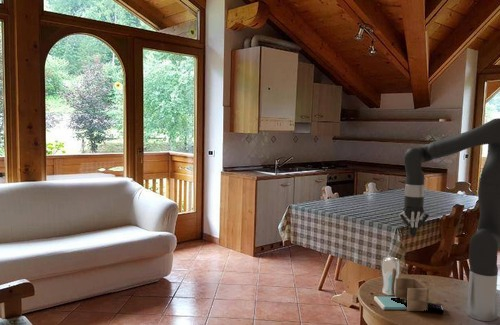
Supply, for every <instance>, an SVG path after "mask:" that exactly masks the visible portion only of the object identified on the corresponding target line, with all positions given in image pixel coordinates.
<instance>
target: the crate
mask: <svg viewBox="0 0 500 325" xmlns="http://www.w3.org/2000/svg"><path fill="white" fill-rule="evenodd" d="M429 290H430V289H429V288H428V287H426V285H424V284H423V283H422V282H420V281H419V280H418V279H416V278H414V277H404V278H403V277H398V278H396V283H395V295H394V297H397V298H400V299H405V300H407V307H406V311H407V312H425V311H426V310H427V311H428V308H429V306H428V305H429V292H430V291H429ZM424 310H425V311H424ZM427 311H426V312H427Z"/></svg>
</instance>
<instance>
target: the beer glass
mask: <svg viewBox="0 0 500 325" xmlns="http://www.w3.org/2000/svg"><path fill="white" fill-rule="evenodd" d="M381 271H382V272H381V274H382V280H383V285H382V289H381V290H382V293H383V294H385V295H389V296H395V283H396V278H399V275H400V259H399V258H396V257H394V256H393V257H392V256H385V257H383V259H382V266H381Z"/></svg>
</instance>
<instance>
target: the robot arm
mask: <svg viewBox="0 0 500 325" xmlns="http://www.w3.org/2000/svg"><path fill="white" fill-rule="evenodd" d="M483 145H487V155H486V159H485V162H484V164H483V166H482V169H481V170H482V171H481V173H480V178H479V181H478V182H479V183H478V191H477V195H478V196H477V197H478V198H477V201H478V206H479V208H478V209H479V220H478V225H477V229H476V232H475V233H474V234H473V235H472V236H471V238H470V242H469V250H468V251H469V252H468V253H469V254H468V263H469V275H468V290H467V294H468V295H467V305H466V306H467V309H466V314H467V315H468V316H469V317H470V318H473V319H475V320H477V321H483V322H493V321H495V320H497V319H498V312H499V311H498V310H499V300H500V298H499V297H500V296H499V294H498V293H497V290H498V288H497V287H498V274H499V273H498V272H499V268H498V253H499V250H500V118H499V117H498V118H493V119H491V120H489V121H487V122H486V123H483V124H481V125H479V126H478V127H475V128H473V129H470V130H467V131H465V132H462V133H458V134H454V135H451V136H447V137H444V138H440V139H437V140H434V141H431V142H429V143H428V144H425V145H421V146H417V147H410V148H407V149H406V151H405V153H404V156H403V157H404V158H403V162H404V167H405V168H404V169H405V173H406V174H405V188H404V202H403V203H404V204H403V205H404V206H403V210H402V212H400V213H397V216H398V217H399V219H400V220H401V221H402V223H403V224H404V225H405V226H407V227H408V235H409V236H411V237H416V235H417V233H418V232H417V231H418V230H417V229H418V227H421V226H423V224H424V223H425V222H426V221H427V219H428V218H429V216H430V215H429V214H428V213H426V212H425V209H424V202H425V200H424V199H425V186H424V184H425V173H424V171H422V164H424V163H427V162H429V161H433V160H436V159H441V158H443V157H444V158H445V157H447V156H451V155H454V154H457V153H459V152H462V151H464V150H468V149H470V148H473V147H478V146H483Z"/></svg>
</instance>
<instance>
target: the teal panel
mask: <svg viewBox="0 0 500 325" xmlns="http://www.w3.org/2000/svg"><path fill="white" fill-rule="evenodd" d="M391 298H397V297H395V296H374V297H373V300H374V301H375V302H376V304H378V306H379V307H380V308H381V309H382V311H384V310H401V311H402V310H404V311H405V310H406V311H407V307H406V306H405V305H404V304H401V303H397V302H395V301H393V300H391Z"/></svg>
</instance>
